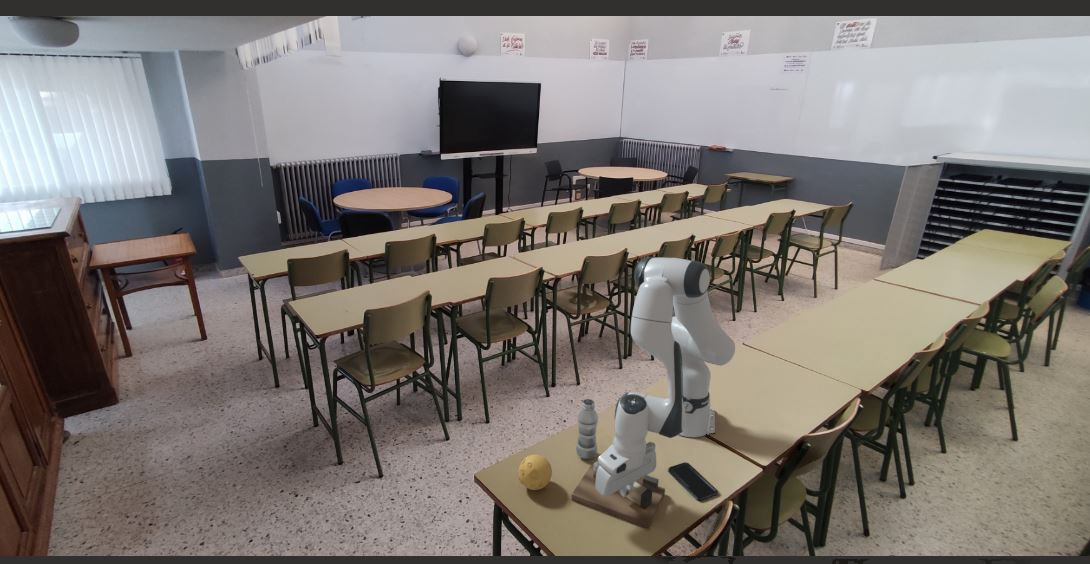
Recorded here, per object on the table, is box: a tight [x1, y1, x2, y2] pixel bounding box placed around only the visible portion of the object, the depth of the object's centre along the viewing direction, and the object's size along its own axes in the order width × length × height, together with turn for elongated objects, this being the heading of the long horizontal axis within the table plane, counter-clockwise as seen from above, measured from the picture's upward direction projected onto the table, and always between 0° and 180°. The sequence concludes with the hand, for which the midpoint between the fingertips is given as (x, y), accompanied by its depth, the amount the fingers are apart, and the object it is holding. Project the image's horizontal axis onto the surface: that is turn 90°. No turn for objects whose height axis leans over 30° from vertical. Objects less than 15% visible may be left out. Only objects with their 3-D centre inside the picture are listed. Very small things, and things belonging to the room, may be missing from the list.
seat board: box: [570, 463, 666, 530], centre depth 150 cm, size 15×23×5 cm, turn 62°
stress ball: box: [517, 453, 553, 491], centre depth 153 cm, size 10×10×10 cm
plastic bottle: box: [575, 398, 599, 460], centre depth 165 cm, size 6×7×20 cm
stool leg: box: [593, 461, 652, 509], centre depth 150 cm, size 19×3×4 cm, turn 47°
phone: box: [667, 462, 719, 502], centre depth 157 cm, size 8×1×15 cm
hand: (625, 494), depth 146 cm, fingers closed
